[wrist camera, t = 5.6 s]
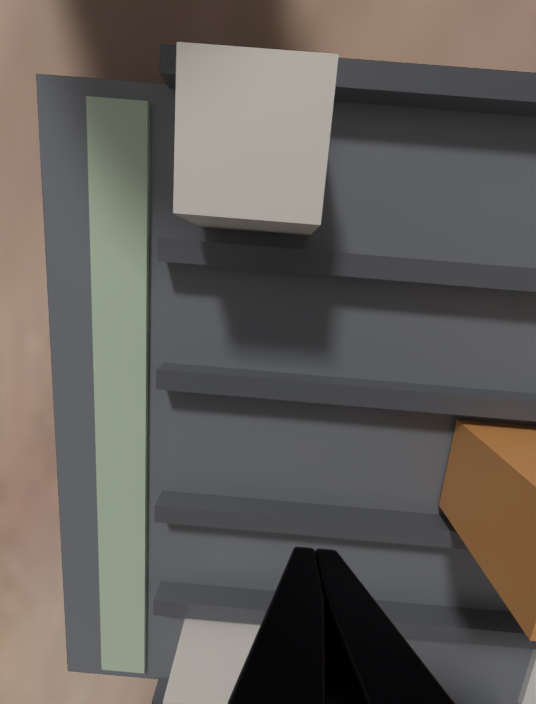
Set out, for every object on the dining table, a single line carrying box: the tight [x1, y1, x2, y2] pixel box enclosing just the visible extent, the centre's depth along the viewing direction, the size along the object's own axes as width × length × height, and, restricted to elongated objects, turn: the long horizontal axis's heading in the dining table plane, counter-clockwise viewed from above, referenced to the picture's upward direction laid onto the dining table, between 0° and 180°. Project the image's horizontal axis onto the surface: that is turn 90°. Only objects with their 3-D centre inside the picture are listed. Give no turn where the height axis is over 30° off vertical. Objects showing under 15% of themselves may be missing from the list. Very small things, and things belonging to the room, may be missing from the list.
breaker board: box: [36, 42, 536, 704], centre depth 11 cm, size 20×21×5 cm
